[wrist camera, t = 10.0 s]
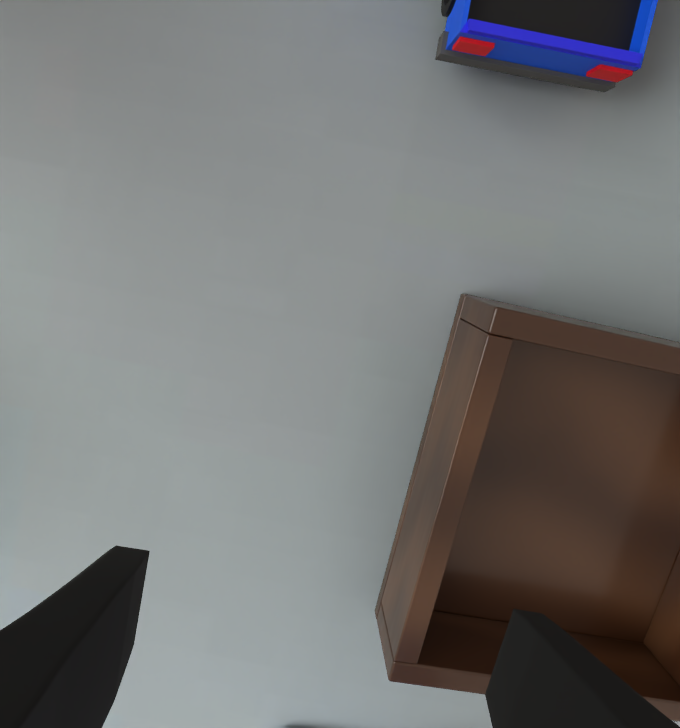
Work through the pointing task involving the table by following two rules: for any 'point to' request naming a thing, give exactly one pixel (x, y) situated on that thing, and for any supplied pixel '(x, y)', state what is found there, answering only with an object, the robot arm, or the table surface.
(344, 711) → the table surface
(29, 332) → the table surface
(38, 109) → the table surface
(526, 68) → the toy car
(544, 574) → the box
